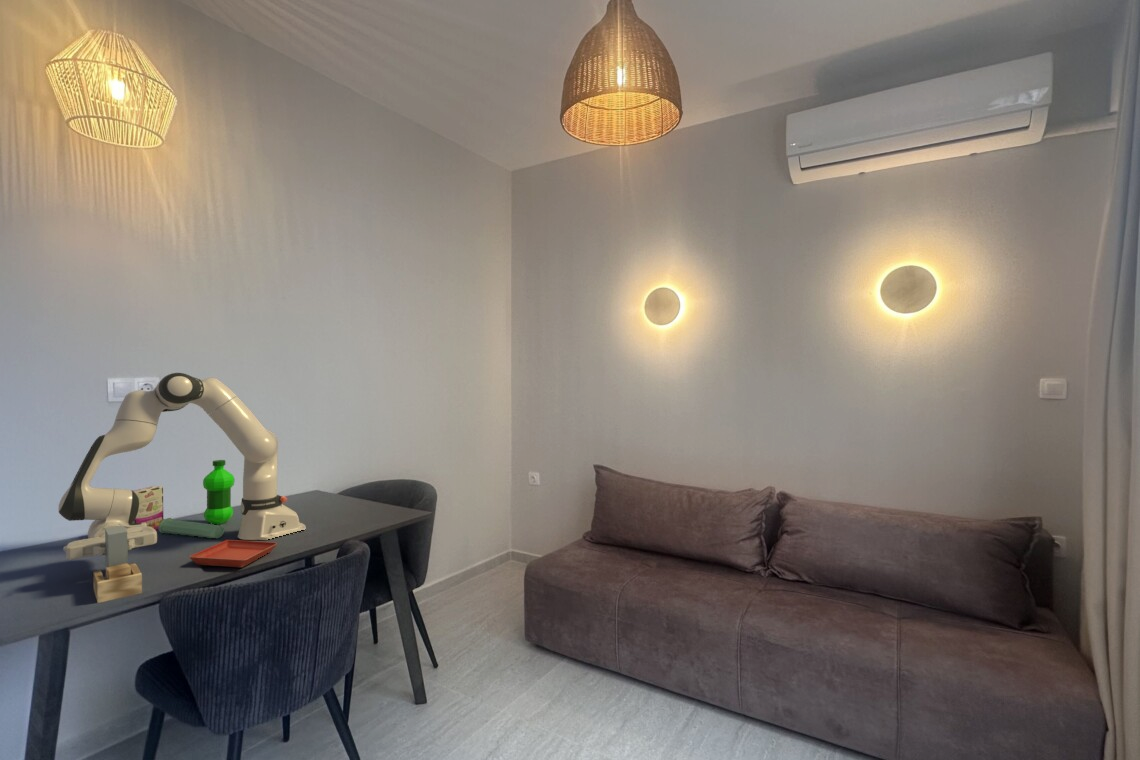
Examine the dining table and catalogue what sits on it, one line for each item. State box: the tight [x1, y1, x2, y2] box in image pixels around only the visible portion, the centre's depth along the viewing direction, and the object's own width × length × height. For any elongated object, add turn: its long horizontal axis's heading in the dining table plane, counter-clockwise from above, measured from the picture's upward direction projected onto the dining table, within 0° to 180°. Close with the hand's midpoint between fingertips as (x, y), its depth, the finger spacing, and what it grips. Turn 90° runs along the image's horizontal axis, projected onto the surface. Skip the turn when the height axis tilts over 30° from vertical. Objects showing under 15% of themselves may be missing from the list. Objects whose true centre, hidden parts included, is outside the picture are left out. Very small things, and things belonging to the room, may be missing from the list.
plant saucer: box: [188, 539, 278, 568], centre depth 172 cm, size 18×18×3 cm
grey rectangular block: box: [105, 525, 129, 569], centre depth 150 cm, size 4×8×14 cm, turn 46°
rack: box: [93, 563, 143, 604], centre depth 145 cm, size 9×12×6 cm
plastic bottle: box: [202, 459, 235, 525], centre depth 213 cm, size 10×10×25 cm
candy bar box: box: [133, 485, 164, 531], centre depth 199 cm, size 11×5×16 cm, turn 168°
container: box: [158, 517, 225, 539], centre depth 197 cm, size 6×6×25 cm
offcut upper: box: [105, 563, 131, 580], centre depth 144 cm, size 4×4×3 cm
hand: (116, 549), depth 150 cm, fingers closed on grey rectangular block, 4 cm apart
